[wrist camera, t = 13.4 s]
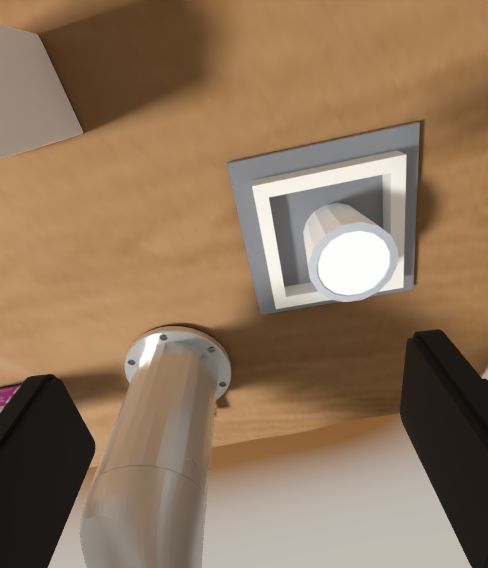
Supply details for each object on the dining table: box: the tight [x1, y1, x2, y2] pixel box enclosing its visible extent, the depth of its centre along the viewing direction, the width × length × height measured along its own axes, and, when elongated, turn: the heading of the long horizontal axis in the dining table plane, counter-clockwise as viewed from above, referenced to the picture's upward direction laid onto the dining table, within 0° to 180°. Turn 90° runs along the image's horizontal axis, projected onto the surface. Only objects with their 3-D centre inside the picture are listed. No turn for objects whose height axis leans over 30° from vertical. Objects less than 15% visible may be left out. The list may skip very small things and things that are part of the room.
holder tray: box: [227, 122, 420, 315], centre depth 32 cm, size 16×16×3 cm
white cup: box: [303, 203, 398, 302], centre depth 30 cm, size 7×7×7 cm
